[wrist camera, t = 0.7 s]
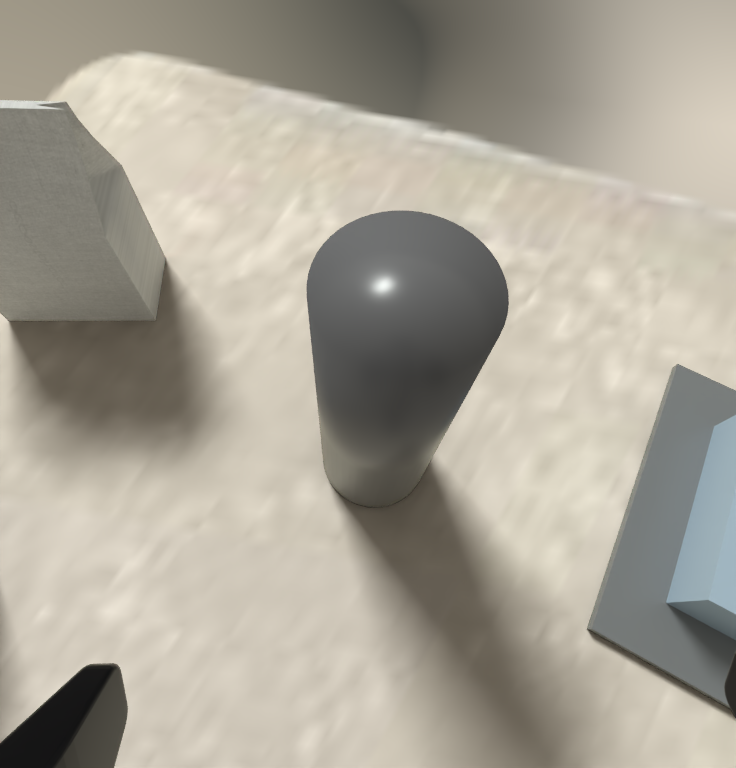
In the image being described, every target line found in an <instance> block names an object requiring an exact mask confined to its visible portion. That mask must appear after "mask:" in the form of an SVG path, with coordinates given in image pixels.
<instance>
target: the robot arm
mask: <svg viewBox="0 0 736 768" xmlns="http://www.w3.org/2000/svg"><path fill="white" fill-rule="evenodd" d="M724 691H725V696H726V699H727V702H728V705H729V707H730V709H731V711H732V712H733V714H734V716H735V718H736V651H735V654H734V657H733V660H732V662H731V665H730V668H729V671H728V674H727V677H726V680H725V684H724ZM127 713H128V706H127V700H126V694H125V689H124V684H123V679H122V674H121V670H120V667H119V666H118V665H117V664H114V663H108V664H90V665H87V666H86V667H84V668H82V669H81V670H80V671H79V672H78V673H77V674H76V675H74V676H73V677H72V678H71V679H70V680H69V681H68V682H67V683H66V684H65V685H63V686H62V687H61V688H60V689H59V690H58V691H57V692H56V693H55V694H54V695H52V696H51V697H50V698H49V699H48V700H47V701H46V702H45V703H44V704H43V705H42V706H40V707H39V708H38V709H37V710H36V711H35V712H34V713H33V714H32V715H31V716H29V717H28V718H27V719H26V720H25V721H24V722H23V723H22V724H21V725H20V726H18V727H17V728H16V729H15V730H14V731H13V732H12V733H11V734H10V735H9V736H7V737H6V738H5V739H4V740H3V741H2V742H1V743H0V768H114V766H115V762H116V758H117V755H118V751H119V747H120V744H121V740H122V736H123V733H124V729H125V725H126V720H127Z"/></svg>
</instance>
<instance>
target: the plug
mask: <svg viewBox="0 0 736 768" xmlns="http://www.w3.org/2000/svg"><path fill="white" fill-rule="evenodd" d="M307 303H308V313H309V323H310V333H311V343H312V353H313V363H314V373H315V383H316V393H317V403H318V414H319V424H320V434H321V444H322V454H323V463H324V469H325V472H326V475H327V477H328V479H329V481H330V483H331V484H332V486H333V487H334V488H335V490H336V491H337V492H338V493H339V494H340V495H341V496H343V497H344V498H346V499H347V500H349V501H351V502H353V503H355V504H358V505H361V506H365V507H384V506H388V505H392V504H394V503H397V502H399V501H400V500H402V499H404V498H405V497H406V496H407V495H409V494H410V493H411V492H412V491H413V489H414V488H415V487H416V485H417V484H418V482H419V480H420V479H421V477H422V475H423V473H424V471H425V470H426V468H427V466H428V464H429V462H430V461H431V459H432V457H433V455H434V453H435V452H436V450H437V448H438V446H439V444H440V442H441V441H442V439H443V437H444V435H445V433H446V432H447V430H448V428H449V426H450V424H451V423H452V421H453V419H454V417H455V415H456V414H457V412H458V410H459V408H460V406H461V404H462V403H463V401H464V399H465V397H466V395H467V394H468V392H469V390H470V388H471V386H472V385H473V383H474V381H475V379H476V377H477V376H478V374H479V372H480V370H481V368H482V366H483V365H484V363H485V361H486V359H487V357H488V356H489V354H490V352H491V350H492V348H493V347H494V345H495V343H496V341H497V339H498V337H499V336H500V334H501V331H502V329H503V327H504V325H505V321H506V317H507V313H508V304H509V301H508V289H507V284H506V280H505V277H504V275H503V272H502V270H501V268H500V266H499V264H498V262H497V260H496V259H495V257H494V256H493V254H492V253H491V252H490V250H489V249H488V248H487V247H486V246H485V245H484V244H483V243H482V242H481V241H480V240H479V239H478V238H477V237H475V236H474V235H473V234H471V233H470V232H469V231H467V230H466V229H464V228H463V227H461V226H459V225H457V224H455V223H453V222H451V221H449V220H446V219H444V218H441V217H438V216H435V215H431V214H427V213H422V212H415V211H388V212H380V213H376V214H371V215H368V216H365V217H362V218H359V219H357V220H355V221H353V222H351V223H349V224H347V225H345V226H344V227H342V228H341V229H339V230H338V231H337V232H335V233H334V234H333V235H332V236H330V238H329V239H328V240H327V241H326V242H325V243H324V244H323V245H322V247H321V248H320V249H319V251H318V252H317V254H316V256H315V258H314V260H313V262H312V264H311V267H310V270H309V274H308V280H307Z"/></svg>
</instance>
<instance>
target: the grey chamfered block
mask: <svg viewBox="0 0 736 768" xmlns="http://www.w3.org/2000/svg"><path fill="white" fill-rule="evenodd" d="M165 260H166V258H165V256H164V253H163V251H162V249H161V247H160V245H159V243H158V241H157V239H156V237H155V234H154V232H153V230H152V228H151V226H150V224H149V222H148V220H147V218H146V215H145V213H144V211H143V209H142V207H141V205H140V203H139V201H138V198H137V196H136V194H135V192H134V190H133V188H132V186H131V184H130V182H129V179H128V177H127V175H126V173H125V171H124V169H123V167H122V165H121V164H120V163H119V162H118V161H117V160H116V159H115V158H114V157H113V156H112V155H111V154H110V153H109V152H108V151H107V150H106V149H105V148H104V147H103V146H102V145H101V144H100V143H99V142H98V141H97V140H96V139H95V138H94V137H93V136H92V135H91V134H90V133H89V132H88V130H87V129H86V128H85V127H84V126H83V124H82V123H81V122H80V121H79V120H78V118H77V117H76V116H75V114H74V113H73V111H72V110H71V108H70V107H69V105H68V104H67V102H55V101H9V100H0V313H1V314H2V315H3V316H4V317H5V318H6V319H7V320H8V321H156V317H157V310H158V304H159V298H160V291H161V285H162V279H163V272H164V266H165Z"/></svg>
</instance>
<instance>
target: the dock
mask: <svg viewBox="0 0 736 768" xmlns="http://www.w3.org/2000/svg"><path fill="white" fill-rule="evenodd" d="M587 629H589V630H590V631H592V632H594V633H596V634H598V635H599V636H601V637H603V638H605V639H606V640H608V641H610V642H612V643H614V644H615V645H617V646H619V647H621V648H622V649H624V650H626V651H628V652H630V653H631V654H633V655H635V656H637V657H639V658H640V659H642V660H644V661H646V662H647V663H649V664H651V665H653V666H655V667H656V668H658V669H660V670H662V671H664V672H665V673H667V674H669V675H671V676H672V677H674V678H676V679H678V680H680V681H681V682H683V683H685V684H687V685H688V686H690V687H692V688H694V689H696V690H697V691H699V692H701V693H703V694H705V695H706V696H708V697H710V698H712V699H713V700H715V701H717V702H719V703H721V704H722V705H724V706H726V707H728V708H730V707H729V705H728V702H727V699H726V696H725V691H724V684H725V680H726V677H727V674H728V671H729V668H730V665H731V662H732V660H733V657H734V654H735V651H736V391H735V390H733V389H731V388H729V387H726V386H724V385H722V384H720V383H718V382H716V381H713V380H711V379H709V378H707V377H705V376H703V375H700V374H698V373H696V372H694V371H692V370H690V369H687V368H685V367H683V366H681V365H679V364H677V365H676V366H674V367H673V368H672V372H671V375H670V378H669V381H668V384H667V387H666V390H665V393H664V396H663V399H662V402H661V405H660V408H659V411H658V414H657V417H656V420H655V423H654V426H653V429H652V433H651V436H650V439H649V442H648V445H647V448H646V451H645V454H644V457H643V460H642V463H641V466H640V469H639V472H638V475H637V478H636V481H635V484H634V487H633V490H632V493H631V497H630V500H629V503H628V506H627V509H626V512H625V515H624V518H623V521H622V524H621V527H620V530H619V533H618V536H617V539H616V542H615V545H614V548H613V551H612V554H611V558H610V561H609V564H608V567H607V570H606V573H605V576H604V579H603V582H602V585H601V588H600V591H599V594H598V597H597V600H596V603H595V606H594V609H593V612H592V615H591V619H590V622H589V625H588V628H587Z"/></svg>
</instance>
